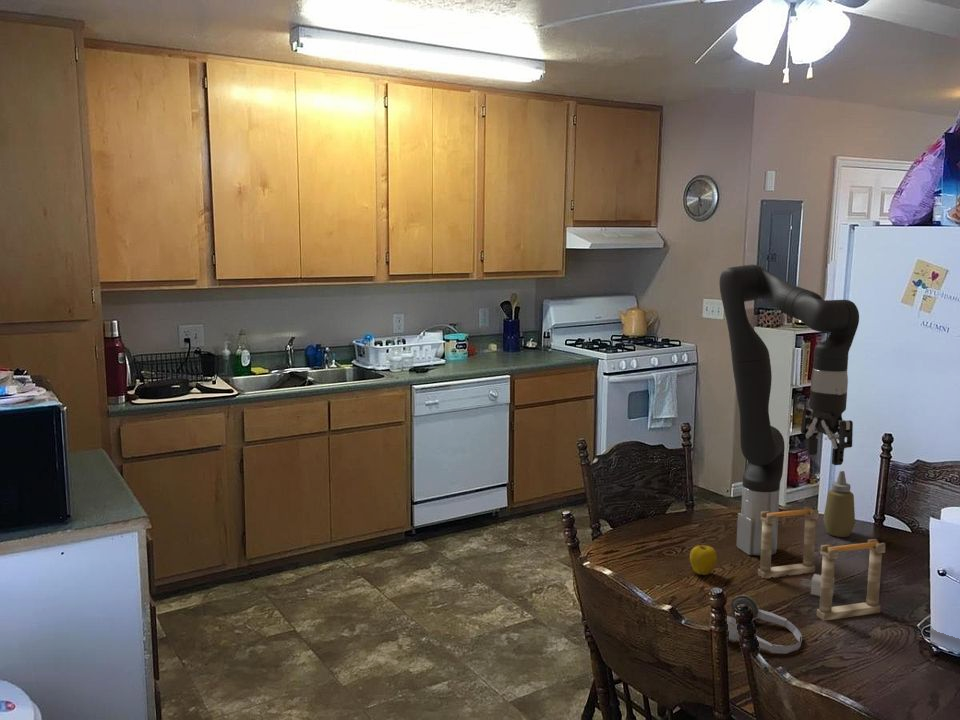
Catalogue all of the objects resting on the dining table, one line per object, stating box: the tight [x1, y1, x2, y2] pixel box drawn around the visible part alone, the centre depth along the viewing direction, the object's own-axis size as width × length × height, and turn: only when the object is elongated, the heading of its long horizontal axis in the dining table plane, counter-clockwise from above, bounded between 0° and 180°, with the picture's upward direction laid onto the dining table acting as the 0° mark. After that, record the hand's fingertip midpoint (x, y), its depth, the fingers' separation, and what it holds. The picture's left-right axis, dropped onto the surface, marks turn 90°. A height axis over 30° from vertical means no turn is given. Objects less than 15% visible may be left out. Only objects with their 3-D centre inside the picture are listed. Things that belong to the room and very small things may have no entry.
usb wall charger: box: [799, 573, 835, 597], centre depth 182 cm, size 4×7×4 cm, turn 57°
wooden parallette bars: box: [757, 506, 886, 621], centre depth 182 cm, size 14×25×16 cm, turn 14°
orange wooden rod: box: [766, 508, 814, 518], centre depth 191 cm, size 13×1×1 cm, turn 104°
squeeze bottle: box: [822, 470, 856, 538], centre depth 217 cm, size 8×8×18 cm
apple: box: [689, 544, 718, 576], centre depth 193 cm, size 6×6×8 cm
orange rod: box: [827, 541, 879, 553], centre depth 170 cm, size 13×1×1 cm, turn 104°
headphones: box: [723, 589, 803, 655], centre depth 165 cm, size 17×6×20 cm
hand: (824, 459), depth 178 cm, fingers open, 8 cm apart
